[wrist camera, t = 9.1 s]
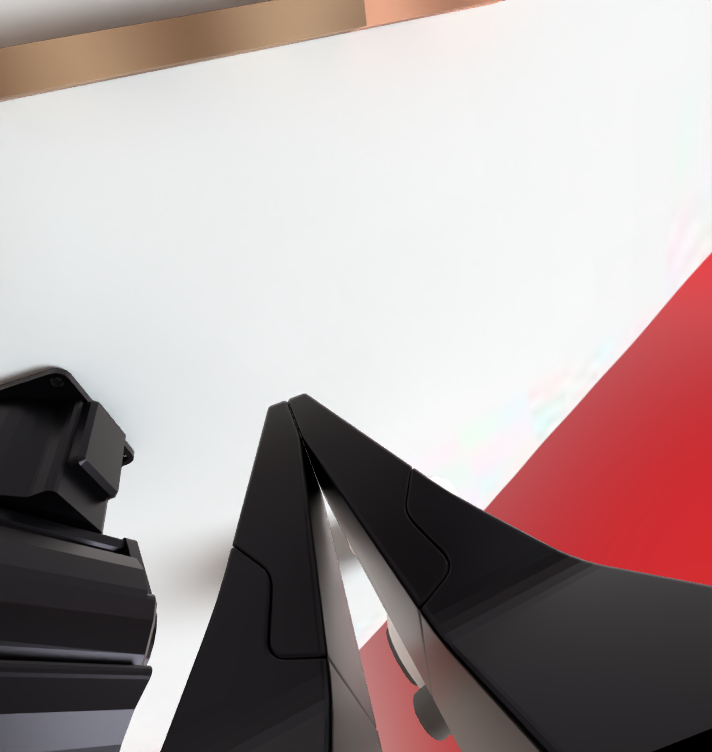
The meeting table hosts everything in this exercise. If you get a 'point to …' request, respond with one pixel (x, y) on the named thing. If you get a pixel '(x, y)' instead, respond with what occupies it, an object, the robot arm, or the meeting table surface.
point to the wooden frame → (197, 39)
